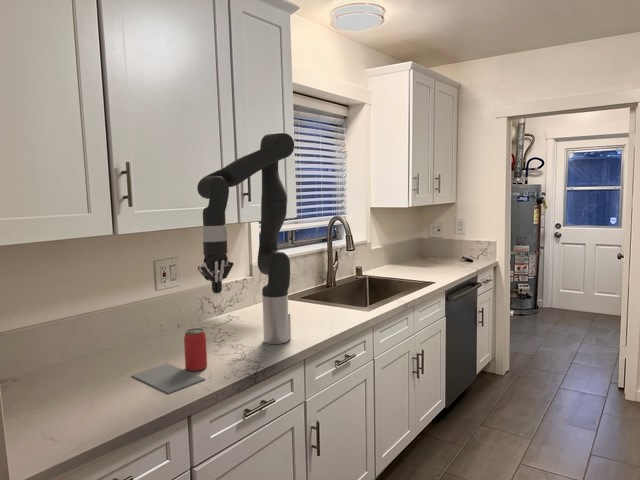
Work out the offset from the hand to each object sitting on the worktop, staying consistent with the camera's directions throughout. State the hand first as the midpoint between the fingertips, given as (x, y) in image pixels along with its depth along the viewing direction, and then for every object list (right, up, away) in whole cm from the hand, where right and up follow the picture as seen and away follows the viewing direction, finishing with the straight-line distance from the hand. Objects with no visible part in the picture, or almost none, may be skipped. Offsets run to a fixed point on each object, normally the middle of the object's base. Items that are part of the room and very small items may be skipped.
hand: (217, 292), depth 149 cm
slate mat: (-12, -24, -12) cm, 29 cm away
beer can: (-5, -23, -5) cm, 24 cm away
